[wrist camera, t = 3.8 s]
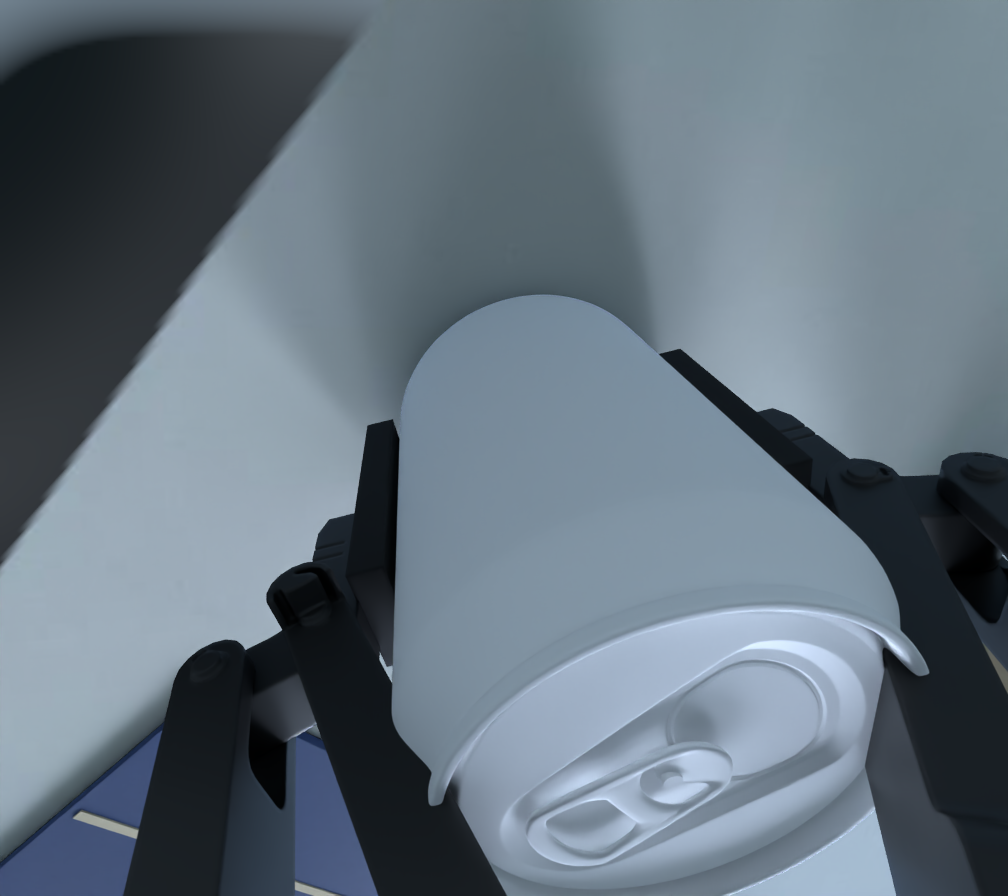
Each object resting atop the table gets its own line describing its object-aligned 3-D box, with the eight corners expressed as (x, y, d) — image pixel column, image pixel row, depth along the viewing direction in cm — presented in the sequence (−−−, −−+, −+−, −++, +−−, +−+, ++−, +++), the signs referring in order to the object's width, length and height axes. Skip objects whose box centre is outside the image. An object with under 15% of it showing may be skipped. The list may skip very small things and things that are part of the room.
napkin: (-41, 897, 26) (-48, 909, 26) (207, 684, 22) (203, 695, 22) (287, 975, 34) (285, 985, 34) (513, 830, 30) (514, 840, 30)
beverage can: (693, 428, 19) (1019, 773, 9) (502, 557, 21) (594, 979, 11) (564, 227, 16) (872, 424, 5) (343, 402, 17) (244, 821, 7)
